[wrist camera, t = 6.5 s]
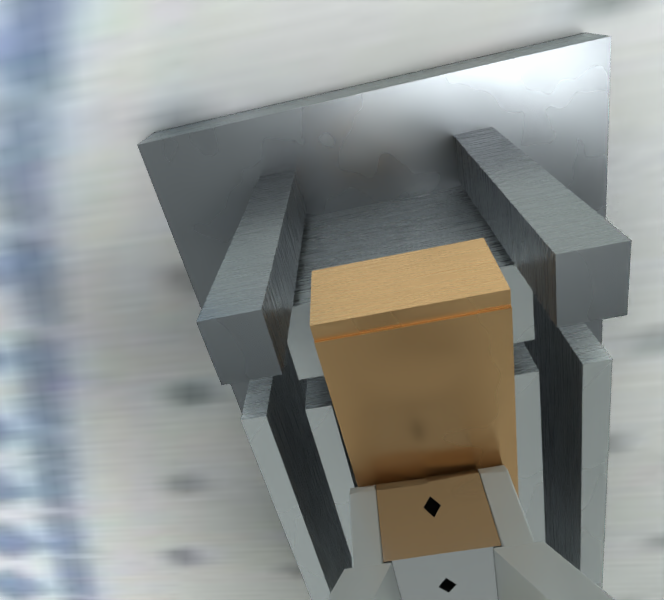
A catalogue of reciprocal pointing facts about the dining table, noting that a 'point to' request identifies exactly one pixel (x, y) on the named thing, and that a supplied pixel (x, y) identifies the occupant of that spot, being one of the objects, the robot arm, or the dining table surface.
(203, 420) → the dining table surface
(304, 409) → the heatsink
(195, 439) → the dining table surface
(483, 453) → the block
